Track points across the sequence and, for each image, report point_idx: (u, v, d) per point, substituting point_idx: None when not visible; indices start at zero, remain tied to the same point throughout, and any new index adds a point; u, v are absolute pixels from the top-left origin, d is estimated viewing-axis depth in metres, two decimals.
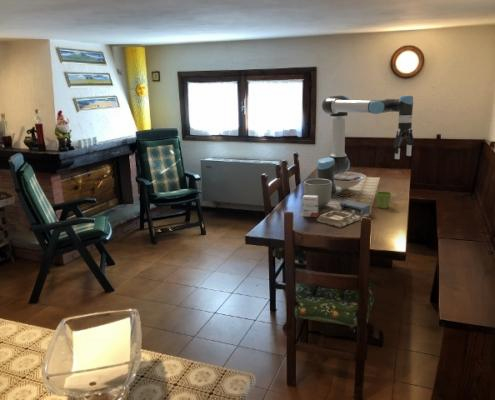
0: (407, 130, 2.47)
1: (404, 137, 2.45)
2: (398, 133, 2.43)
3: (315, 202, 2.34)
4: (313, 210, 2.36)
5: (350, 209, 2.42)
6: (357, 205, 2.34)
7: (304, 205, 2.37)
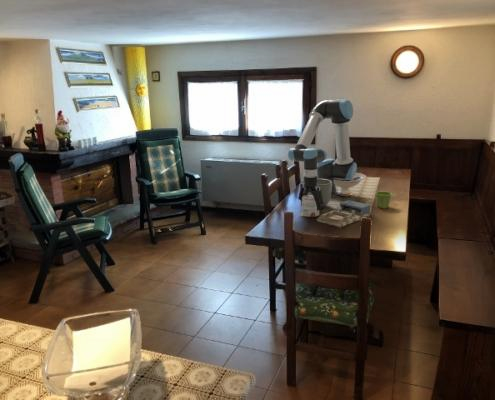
0: (311, 184, 2.33)
1: (305, 191, 2.36)
2: None
3: (315, 202, 2.34)
4: (312, 210, 2.36)
5: (350, 209, 2.42)
6: (357, 205, 2.34)
7: (304, 205, 2.37)
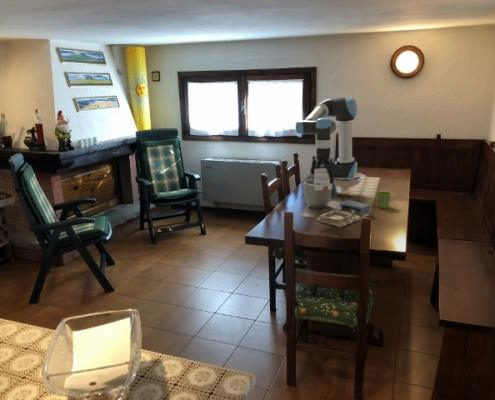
0: (324, 156, 2.22)
1: (318, 163, 2.25)
2: None
3: (328, 175, 2.23)
4: (325, 183, 2.25)
5: (350, 209, 2.42)
6: (357, 205, 2.34)
7: (316, 178, 2.26)
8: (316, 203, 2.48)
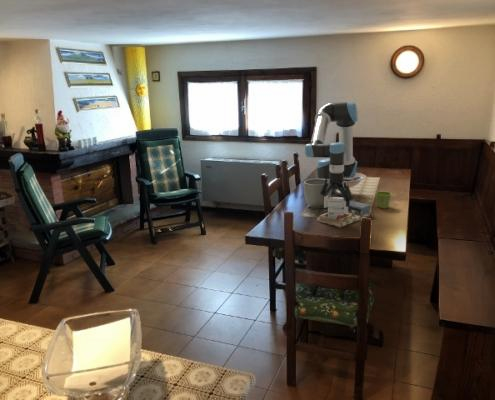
0: (337, 181, 2.20)
1: (330, 187, 2.24)
2: None
3: (342, 204, 2.23)
4: (339, 213, 2.25)
5: (350, 209, 2.42)
6: (357, 205, 2.34)
7: (330, 208, 2.25)
8: (316, 203, 2.48)
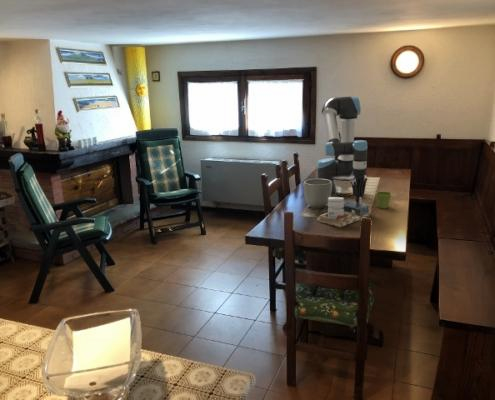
0: None
1: (360, 184, 2.35)
2: (353, 184, 2.33)
3: (342, 204, 2.23)
4: (339, 213, 2.25)
5: (350, 209, 2.42)
6: (356, 205, 2.34)
7: (330, 208, 2.25)
8: (316, 203, 2.48)
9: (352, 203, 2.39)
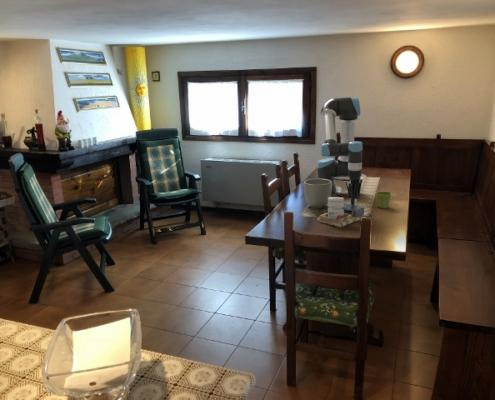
0: None
1: (355, 185, 2.32)
2: (348, 185, 2.30)
3: (342, 204, 2.23)
4: (339, 213, 2.25)
5: None
6: (351, 207, 2.31)
7: (330, 208, 2.25)
8: (316, 203, 2.48)
9: (347, 205, 2.36)
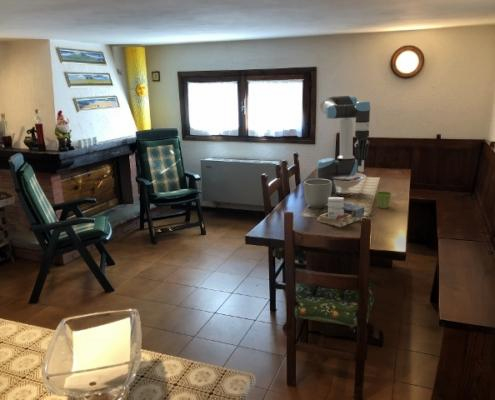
0: (365, 136, 2.31)
1: (363, 146, 2.30)
2: (355, 146, 2.28)
3: (342, 204, 2.23)
4: (339, 213, 2.25)
5: None
6: (351, 207, 2.31)
7: (330, 208, 2.25)
8: (316, 203, 2.48)
9: (347, 205, 2.36)
